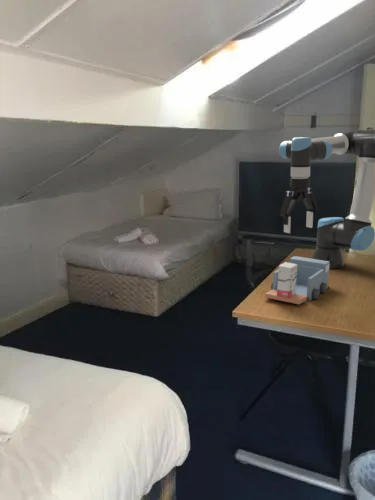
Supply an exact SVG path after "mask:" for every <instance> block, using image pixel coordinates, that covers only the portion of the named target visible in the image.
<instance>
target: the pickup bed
mask: <svg viewBox="0 0 375 500" xmlns="http://www.w3.org/2000/svg"><path fill="white" fill-rule="evenodd" d="M289 263H293V264H297V278H296V290H295V294H300V295H305V296H307V300H306V301H305V302H311V301H312V300H318V299H319V296H320V293H322V294H325V293H326V292H327V290H328V288H329V278H330V277H329V275H330V268H329V265H330V261H324V260H317V259H312V258H311V257H310V258H309V257H303V256H296V255H294V256H292V257H290V258H289ZM278 272H279V268H278V269H277V270H275V271H273V273H272V274H273V275H272V282H271V286H270V291H271V290H273V289H275V290H277V287H278Z"/></svg>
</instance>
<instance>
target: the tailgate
mask: <svg viewBox="0 0 375 500" xmlns="http://www.w3.org/2000/svg"><path fill="white" fill-rule="evenodd" d="M264 298H266V299H267V298H268V299H271V300H277V301H281V302H285V303H291V304H296V305H301V304H302V303H304V302H307V301H306V300H307V296H305V295H300V294H293V295H292V296H291V297H290V298H285V297H279V296H277V290H275V289H273V290H271V289H270V290H269V291H266V292H265V293H264Z"/></svg>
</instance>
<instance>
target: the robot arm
mask: <svg viewBox="0 0 375 500" xmlns="http://www.w3.org/2000/svg"><path fill="white" fill-rule="evenodd" d="M278 154H279V156H280V157H281V158H283V159H287V160H290V179H289V181H290V183H289V187H290V188H291V190H286V191H285V195H284V196H285V197H284V200H283V203H282V205H281V208H280V211H279V216H281V217H282V218H283V219H282V220H283V233H286V234H291V223H292V222H291V220H292V219H291V216H290V215H291V214H292V211H293V210H294V208H295V206H296V204H298V203H299V202H303V204H304V206H305V208H306V209H307V211H306V220H305V221H306V222H305V223H306V224H305V227H306V228H310V229H312V228H313V226H314V225H313V223H314V216H315V215H314V213H316V212H317V210H318V204H317V201H316V199H315V196H314V189H313V187H310V182H311V179H310V177H311V162H314V161H324V160H327V159H329V158H331V156H332V154H336V155H339V156H340V155H346V156H347V155H348V156H357V157H358V160H359V162H360V165H359V169H358V173H357V174H358V175H357V180H356V184H355V188H354V192H353V196H352V201H351V202H352V203H351V207H350V212H349V215H347V216H346V217H345V218H344V217H339V216H331V217H322V218H320V219H318V222H317V227H316V228H317V229H316V230H317V231H316V247H315V251H314V253H313V255H312V257H311V259H317V260H324V261H330V265H329V269H340V268H343V267H344V266H345V260H344V256H343V253H342V252H343V251H342V248H346V249H350V250H354V251H365V250H367V249H368V248H369V247H370V246H371V245H372V243H374V239H375V228H374V226H372V221H371V219H370V215H371V211H372V207H373V202H374V199H375V129H355V130H352V131H346V132H341V133H336V134H334V136H326V137H316V138H311V137H309V136H308V137H307V136H304V137H302V136H301V137H293V138H292V140H284V141H282V142H281V143H280V145H279V148H278Z"/></svg>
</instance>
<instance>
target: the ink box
mask: <svg viewBox="0 0 375 500" xmlns="http://www.w3.org/2000/svg"><path fill="white" fill-rule="evenodd" d="M278 269H279V272H278V287H277V296H279V297H285V298H290V297H291V296H292V295H293V294H295V290H296V278H297V264H293V263H290V262H289V261H288V262H287V261H285V262H283V263H281V264H279V266H278Z"/></svg>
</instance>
